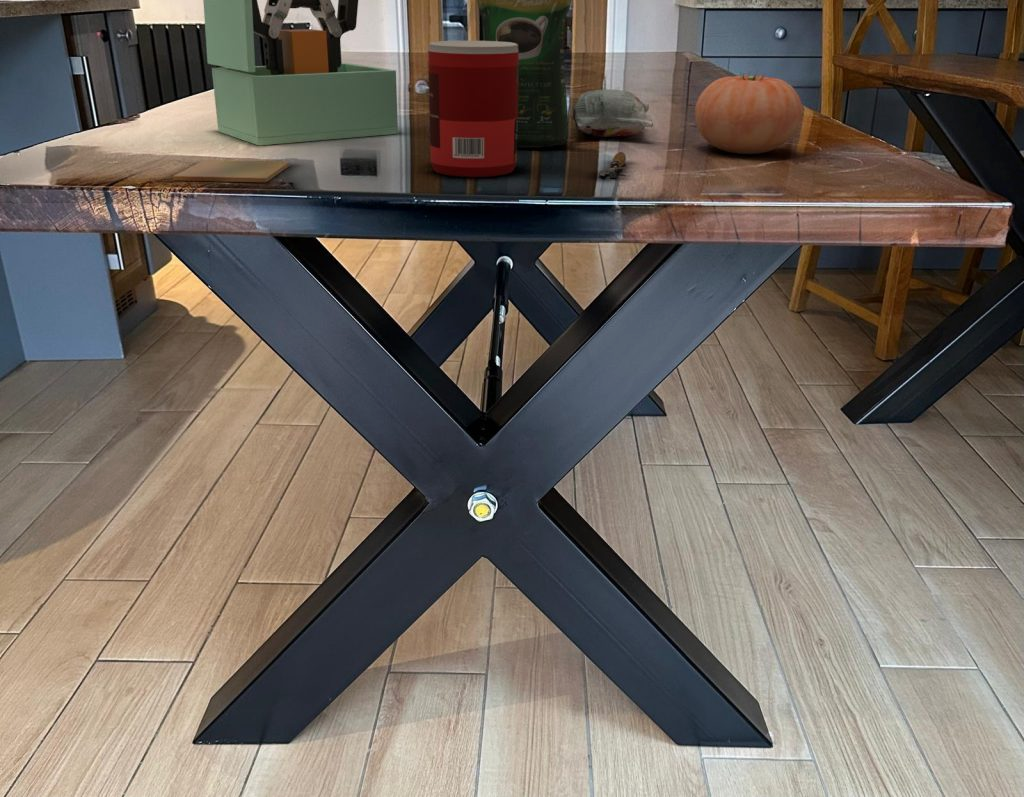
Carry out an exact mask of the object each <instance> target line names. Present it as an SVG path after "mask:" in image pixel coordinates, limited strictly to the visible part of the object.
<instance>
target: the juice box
mask: <svg viewBox="0 0 1024 797" xmlns="http://www.w3.org/2000/svg"><path fill="white" fill-rule="evenodd" d="M278 38H279V39H281V40H282V49H283V62H284V75H289V74H312V73H329V70H328V54H327V37H326V31H322V30H321V29H311V28H303V29H299V28H298V29H297V28H295V29H281V31H280V34H279V36H278Z"/></svg>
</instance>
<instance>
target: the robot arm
mask: <svg viewBox="0 0 1024 797" xmlns="http://www.w3.org/2000/svg"><path fill="white" fill-rule="evenodd" d="M299 8H302V9H309V10H310V12H311V15H312V16H313V17H314V18H315V19H316V21H317V23H318V25H319V27H320V30H322V31H326V37H327V54H328V70H329V73H335V72H338V68H339V67H340V66H341V63H343V62H342V46H341V45H342V44H341V39H342V36H343V35H344V34H346V33H348V32H351V31H352V32H353V31H354V30H355V29H356V28H357V22H358V21H357V19H358V11H359V10H358V8H359V0H337V12H336V9H335V6H334V5H333V2H332V0H266V3H265V6H264V8H263V9H264V10H263V12H264V16H263V19H262V15H261V11H260V7H259V3H258V0H252V14H253V34H256V35H258V36H259V37H261V40H262V46H263V47H262V48H263V58H264V66H266V68H267V70H270V72H271V75H284V62H283V49H282V40H281V39H279V38H278V36H279V34H280V31H281V30H282V28H283V24H284V22H285V19H286V18H288V15H289V12H290V9H299ZM336 13H337V14H336Z"/></svg>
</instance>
